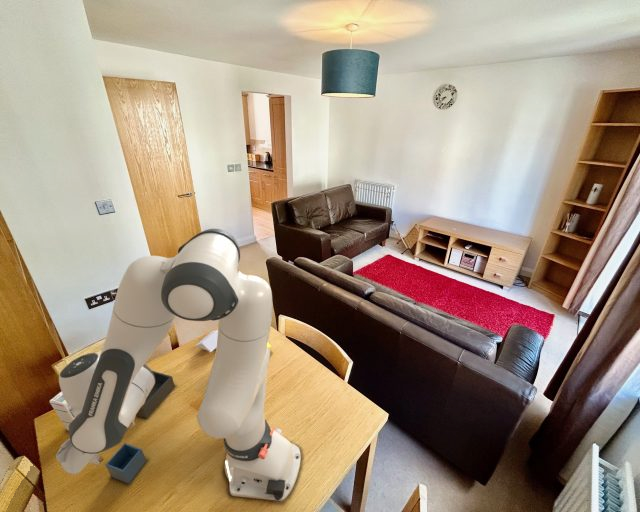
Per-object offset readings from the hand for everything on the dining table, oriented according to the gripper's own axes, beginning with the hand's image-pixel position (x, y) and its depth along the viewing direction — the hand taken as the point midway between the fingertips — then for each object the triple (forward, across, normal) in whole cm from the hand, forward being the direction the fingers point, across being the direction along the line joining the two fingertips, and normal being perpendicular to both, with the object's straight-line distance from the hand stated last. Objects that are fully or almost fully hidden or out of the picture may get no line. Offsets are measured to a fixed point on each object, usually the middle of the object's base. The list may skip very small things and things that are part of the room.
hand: (115, 443), depth 74 cm
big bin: (+13, +20, +13) cm, 27 cm away
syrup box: (+13, +6, +25) cm, 29 cm away
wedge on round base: (+12, +50, +5) cm, 52 cm away
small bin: (+12, 0, -1) cm, 12 cm away
